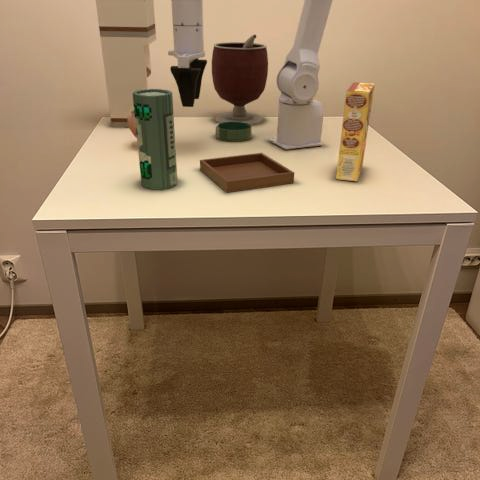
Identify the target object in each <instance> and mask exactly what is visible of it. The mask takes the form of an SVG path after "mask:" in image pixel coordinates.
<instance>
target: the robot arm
mask: <svg viewBox="0 0 480 480" xmlns="http://www.w3.org/2000/svg"><path fill="white" fill-rule="evenodd" d="M170 1H171V16H172V17H171V18H172V36H173V38H172V39H173V50H171V49H170V50H168V51H167V55H168V56H171V57H174V58H175V59H177V65H171V66H170V67H169V69H170V73H171V75H172V77H173V78H174V81H175V84H176V86H177V90H178V93H179V98H180V102H181V106H182V107H183V108H194V105H195V101H196V100H199V99H200V95H201V88H202V80H203V76H204V73H205V69H206V66H207V64H208V60H207V59H201V58H205V56H206V51H205V44H204V7H203V5H204V3H203V0H170ZM333 1H334V0H304V1H303V5H302V10H301V13H300V17H299V21H298V25H297V29H296V33H295V36H294V40H293V45H292V47H291V48H290V50H289V52H288V53H287V55H286V57H285V60H284V63H283V65H282V67H280V69H279V71H278V73H277V75H276V87H277V88H278V91H279V92H280V95H279V97H278V111H277V128H276V137H270V138H269V140H268V141H269V142H270V143H273V144H275V145H276V146H278V147H280V148H281V149H284V150H293V149H301V148H311V147H319V146H320V147H321V146H323V142H321V141H322V132H323V123H324V110H323V109H324V108H323V105H322V103H321V102H320V101H319V100H318V99H314V98H315V96H316V95H317V93H318V91H319V86H320V85H319V84H320V83H319V72H320V69H321V65H320V60H319V51H320V48H321V43H322V40H323V36H324V33H325V29H326V25H327V22H328V18H329V15H330V11H331V7H332V5H333Z"/></svg>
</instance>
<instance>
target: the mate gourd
mask: <svg viewBox="0 0 480 480" xmlns="http://www.w3.org/2000/svg"><path fill="white" fill-rule="evenodd" d="M255 39H257V35H256V34H252V35H251V36H250V37H248V38H247V39H246V40H245V41H244V42H242V41H241V42H240V41H239V42H238V41H236V42H235V41H234V42H233V41H231V42H218V43H214V44H213V49H212V56H211V78H212V84H213V88H214V90H215V92H216V93H217V95H218V97H219V98H220V99H222V100H223V101H225V102H227V103H229V104H231V105H233V107H232V110H231V111H230V112H229V111H228V112H222V113H219V114H217V115H216V116H215V121H216V122H217V123H218V124H219V123H222V122H243V123H248V124H250V125H252V126H254V125H259V124H261V123H262V122H263V119H264V118H263V116H262V115H260V114H257V113H253V112H247V110H246V107H245V106H246V105H247V104H251V103H253V102H254V101H256V100H259V98H260V97H261V96H262V95H263V93H264V91H265V89H266V85H267V81H268V74H269V55H268V49H267V47H268V45H267V44H263V43H256V42H255Z"/></svg>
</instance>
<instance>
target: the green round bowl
mask: <svg viewBox="0 0 480 480" xmlns="http://www.w3.org/2000/svg"><path fill="white" fill-rule="evenodd" d="M252 131H253V125H250V124H248V123H243V122H222V123H219V122H218V123H216V125H215V136H216V138H217V140H220V141H224V142H230V143H231V142H234V143H236V142H237V143H238V142H247V141H248V140H251V138H252Z"/></svg>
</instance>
